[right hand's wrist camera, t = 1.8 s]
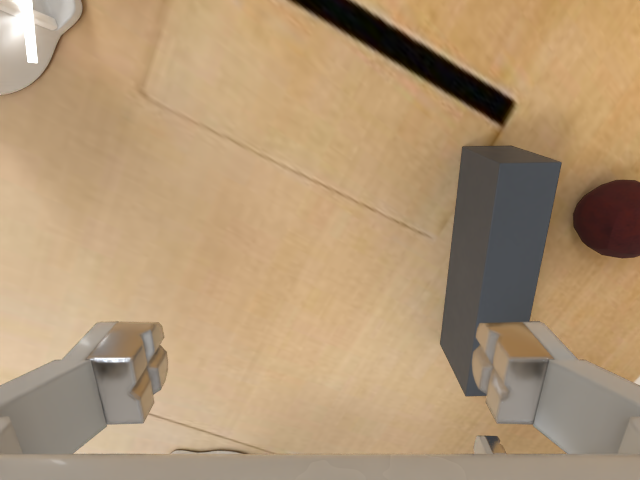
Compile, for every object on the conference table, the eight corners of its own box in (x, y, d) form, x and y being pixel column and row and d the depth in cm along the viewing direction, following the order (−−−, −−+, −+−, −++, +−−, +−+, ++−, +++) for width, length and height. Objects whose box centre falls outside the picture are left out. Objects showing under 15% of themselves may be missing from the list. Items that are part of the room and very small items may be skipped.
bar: (462, 146, 40) (500, 163, 32) (511, 145, 40) (562, 162, 32) (439, 344, 48) (465, 396, 40) (480, 343, 48) (514, 395, 40)
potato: (624, 239, 44) (680, 268, 37) (552, 242, 44) (595, 271, 37) (642, 171, 41) (705, 189, 34) (565, 174, 41) (614, 192, 34)
